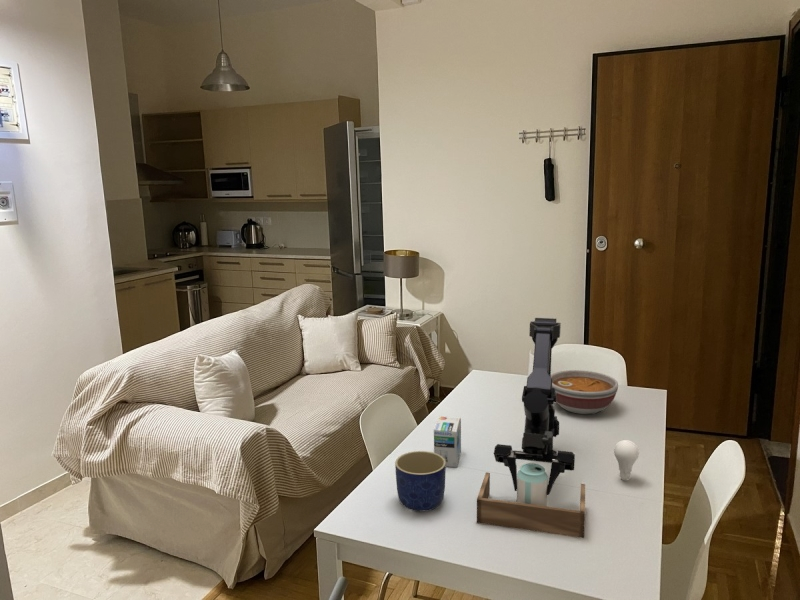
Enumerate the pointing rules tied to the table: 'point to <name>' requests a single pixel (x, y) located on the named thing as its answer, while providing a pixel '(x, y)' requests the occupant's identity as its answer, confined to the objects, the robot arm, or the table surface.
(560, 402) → the bowl
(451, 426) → the light bulb box
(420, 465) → the planter
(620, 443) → the lightbulb
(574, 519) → the three-sided wooden tray
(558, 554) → the table surface
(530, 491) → the can
